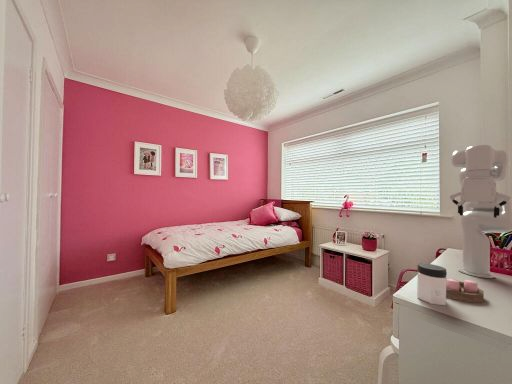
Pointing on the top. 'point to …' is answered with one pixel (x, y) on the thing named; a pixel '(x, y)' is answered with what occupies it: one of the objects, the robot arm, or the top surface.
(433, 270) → the jar
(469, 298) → the tray
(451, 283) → the bead
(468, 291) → the bead
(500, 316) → the top surface
